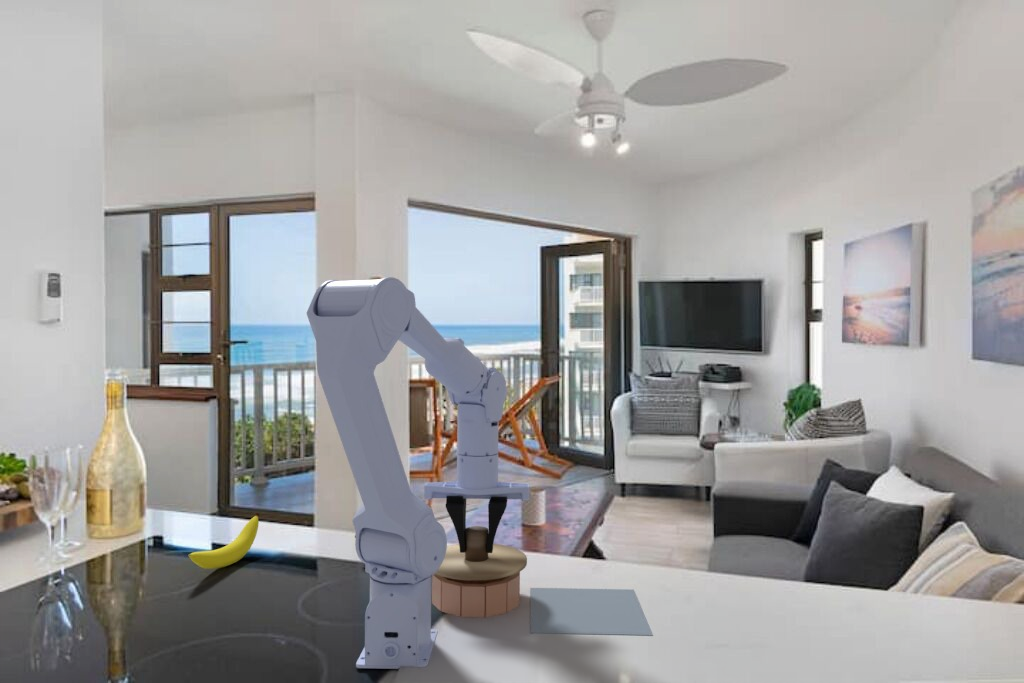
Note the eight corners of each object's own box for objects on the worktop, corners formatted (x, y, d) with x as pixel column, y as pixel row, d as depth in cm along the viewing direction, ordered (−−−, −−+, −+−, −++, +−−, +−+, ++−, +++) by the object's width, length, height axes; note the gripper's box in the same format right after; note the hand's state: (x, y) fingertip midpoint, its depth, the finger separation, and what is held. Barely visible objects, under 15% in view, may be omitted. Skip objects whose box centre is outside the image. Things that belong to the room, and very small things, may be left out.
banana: (179, 587, 99) (179, 544, 99) (250, 548, 118) (250, 511, 118) (197, 589, 99) (197, 545, 99) (265, 549, 117) (265, 512, 117)
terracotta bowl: (518, 621, 88) (519, 587, 88) (427, 620, 88) (427, 585, 88) (519, 587, 100) (520, 557, 100) (439, 586, 100) (439, 556, 100)
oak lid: (527, 580, 87) (527, 545, 87) (419, 580, 87) (419, 544, 87) (526, 547, 101) (526, 516, 101) (432, 546, 101) (432, 515, 101)
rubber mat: (652, 639, 83) (652, 635, 83) (530, 637, 84) (530, 632, 84) (633, 593, 98) (633, 589, 98) (530, 591, 99) (530, 587, 99)
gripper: (529, 448, 98) (528, 542, 98) (429, 447, 98) (429, 541, 98) (530, 457, 91) (529, 558, 91) (422, 456, 91) (421, 556, 91)
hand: (476, 550), depth 94 cm, fingers closed on oak lid, 3 cm apart
